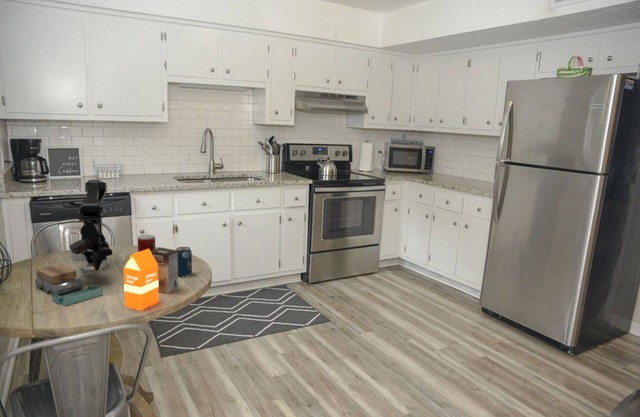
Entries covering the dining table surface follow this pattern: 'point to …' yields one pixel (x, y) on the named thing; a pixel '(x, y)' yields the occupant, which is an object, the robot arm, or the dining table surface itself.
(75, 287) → the roller bed
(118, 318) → the dining table surface
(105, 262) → the roller
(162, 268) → the coffee box
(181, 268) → the soda can
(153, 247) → the canned food
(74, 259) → the lumpy-topped squat cylinder
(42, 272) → the slab
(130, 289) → the orange juice
